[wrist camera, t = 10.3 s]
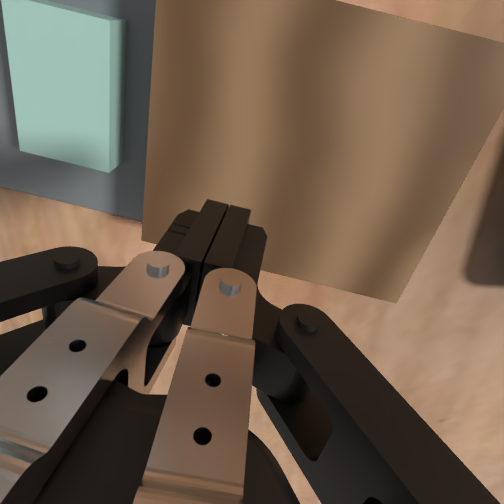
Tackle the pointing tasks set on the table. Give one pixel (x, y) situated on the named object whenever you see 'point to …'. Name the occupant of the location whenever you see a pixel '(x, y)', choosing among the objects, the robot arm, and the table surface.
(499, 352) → the table surface
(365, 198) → the brown wooden flat block
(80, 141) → the mint green block
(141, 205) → the mat
